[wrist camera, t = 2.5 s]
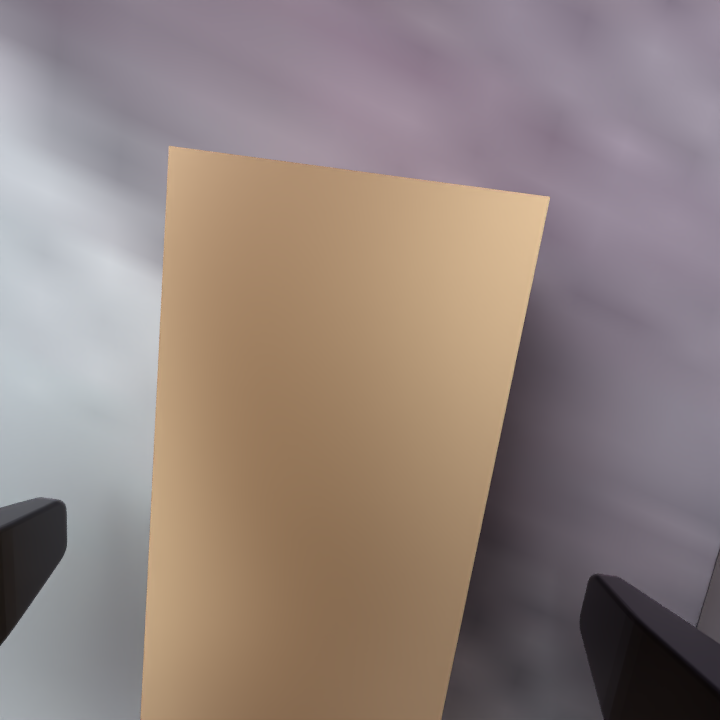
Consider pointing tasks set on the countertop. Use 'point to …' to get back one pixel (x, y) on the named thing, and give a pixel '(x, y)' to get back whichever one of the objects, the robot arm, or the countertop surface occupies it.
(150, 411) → the countertop surface
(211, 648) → the oak bar
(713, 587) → the balance stand
